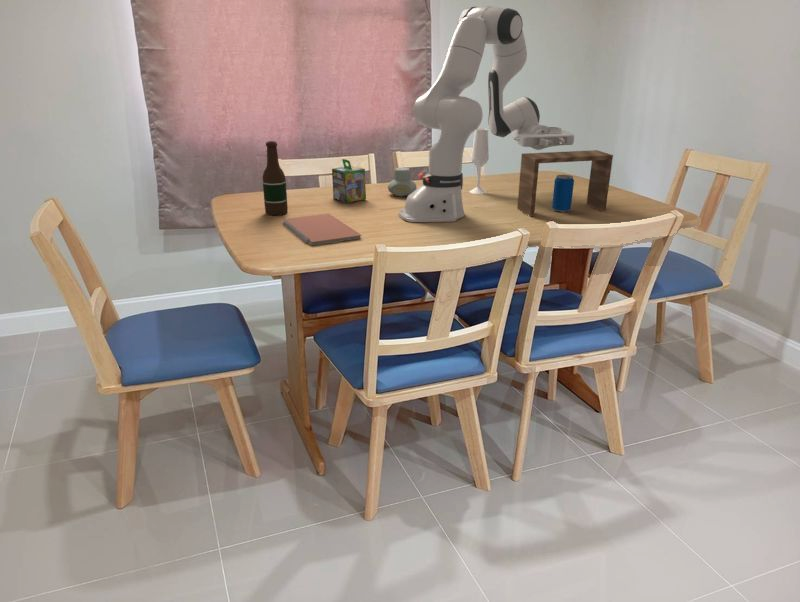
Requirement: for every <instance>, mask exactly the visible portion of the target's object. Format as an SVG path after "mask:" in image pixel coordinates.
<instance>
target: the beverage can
mask: <svg viewBox="0 0 800 602" xmlns="http://www.w3.org/2000/svg"><path fill="white" fill-rule="evenodd" d="M553 183H554V185H553V194H552V204H551V208H552V210H553V211H554V210H556V211H561V212H560V213H566V212H565V211H568V212H570V210H571V209H572V202H573V194H574V193H573V191H574V185H575V184H574V183H575V180H574V176H572V175H570V174H568V175H567V174H558V175H556V178H555V179H554V182H553ZM556 211H555V212H556Z"/></svg>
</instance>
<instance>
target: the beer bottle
mask: <svg viewBox="0 0 800 602" xmlns="http://www.w3.org/2000/svg"><path fill="white" fill-rule="evenodd" d="M265 146H266V167H265V169H264V170H263V174H262V188H263V200H264V201H263V203H264V210H265V211H264V212H265V214H266V215H267V216H271V217H278V216H279V215H280V216H284V215H286V213H287V214H288V209H289V207H288V196H287V195H288V193H287V180H286V175H285V172H284V170H283V169H282V168H281V166H280V164H279V163H280V162H279V154H278V147H277V146H278V142H276V141H273V140H272V141H267V142H266V141H265Z"/></svg>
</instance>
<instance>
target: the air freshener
mask: <svg viewBox="0 0 800 602" xmlns="http://www.w3.org/2000/svg"><path fill="white" fill-rule="evenodd" d="M417 188H418V187H417V184H416V182H415V181H414V180H412V179H411V169H410V168H409V167H405V166H404V167H403V166H401V167H396V168H394V179H392V180H391V181H390V182H389V183H388V184H387V190H388V192H390V194H392V195H393V196H396V197H400V198H401V197H402V198H404V197H408V196H409V195H410V194H411V193H412V192H414V191H415V190H416V189H417Z"/></svg>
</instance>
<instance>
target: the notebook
mask: <svg viewBox="0 0 800 602" xmlns="http://www.w3.org/2000/svg"><path fill="white" fill-rule="evenodd" d="M282 225H283V226H284V227H285V228H286V229H288V230H289V231H290V232H291V233H293V235H294V236H296V237H297V238H298V239H299V240H300V241H302V242H303V243H305V244H306V243H308V244H309V245H310V246H311V245H312V246H319V245H324V244H325V245H326V244H332V243H338V242H343V241H344V240H345V241H350V240H358V239H361V236H362V234H360V233H359V232H358V231H357V230H355V229H353V228H352V227H350V226H349V225H347V224H346V223H344V222H343V221H341V220H340V219H338V218H337V217H335V216H333V215H332V214H330V213H323V214H321V213H320V214H315V215H305V216H297V217H296V216H295V217H290V218H283V222H282Z"/></svg>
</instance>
